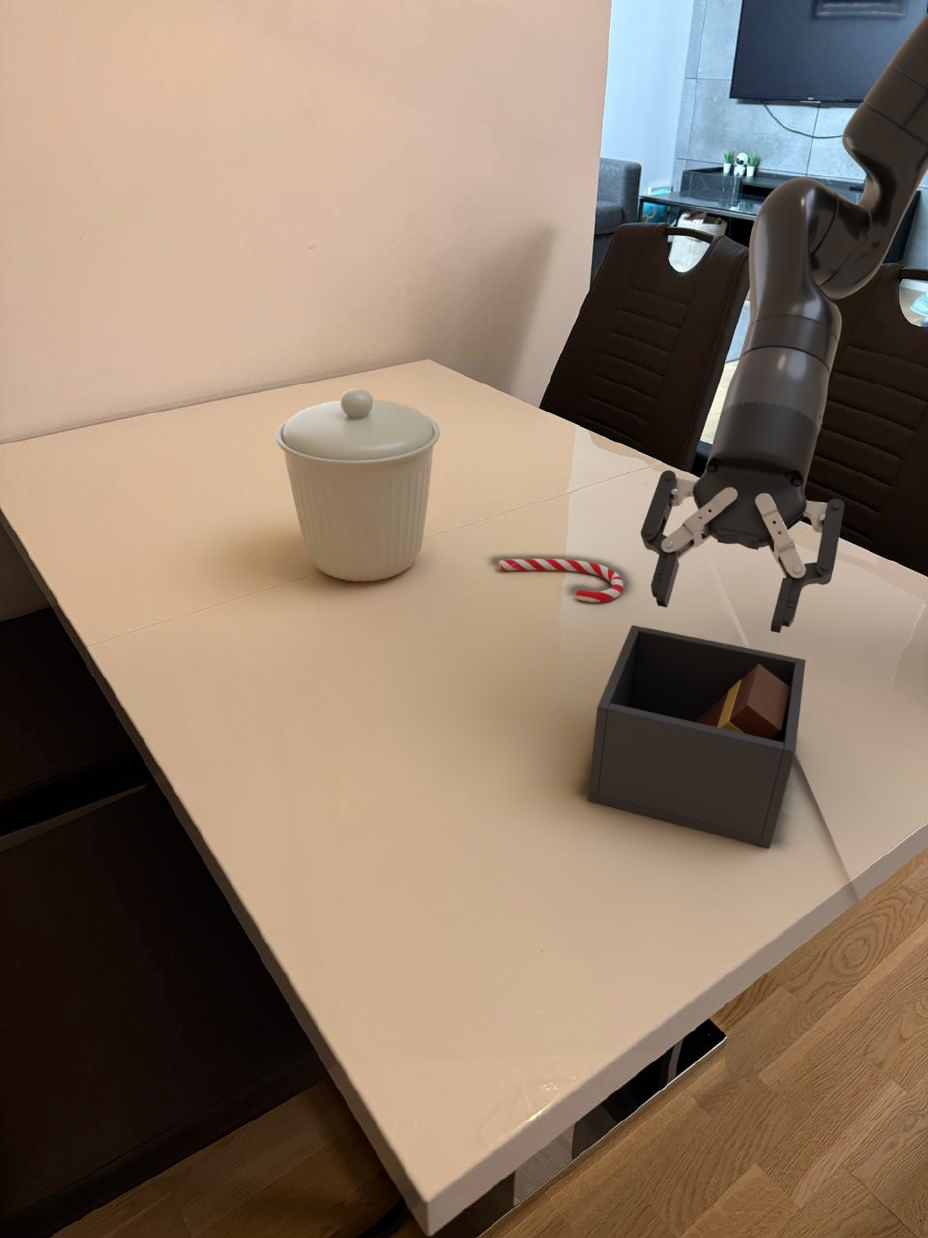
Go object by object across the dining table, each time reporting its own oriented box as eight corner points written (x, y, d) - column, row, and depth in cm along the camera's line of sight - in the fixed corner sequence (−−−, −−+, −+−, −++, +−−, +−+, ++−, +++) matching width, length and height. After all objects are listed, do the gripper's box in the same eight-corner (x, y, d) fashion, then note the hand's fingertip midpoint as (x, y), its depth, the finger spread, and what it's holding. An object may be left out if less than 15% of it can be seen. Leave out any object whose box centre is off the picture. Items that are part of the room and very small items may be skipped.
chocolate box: (717, 751, 80) (791, 687, 74) (703, 795, 75) (781, 731, 69) (686, 728, 80) (758, 662, 74) (671, 770, 75) (746, 704, 69)
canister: (442, 598, 103) (442, 417, 92) (280, 601, 102) (260, 418, 91) (437, 526, 118) (437, 364, 107) (296, 528, 117) (281, 365, 106)
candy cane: (505, 547, 111) (629, 566, 107) (504, 556, 111) (628, 575, 108) (487, 577, 104) (618, 598, 101) (487, 587, 105) (617, 608, 101)
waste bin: (782, 750, 81) (805, 659, 76) (769, 848, 71) (795, 751, 66) (620, 713, 85) (631, 624, 80) (586, 800, 75) (597, 706, 70)
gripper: (675, 386, 71) (618, 582, 68) (871, 412, 66) (819, 625, 63) (682, 430, 78) (631, 609, 75) (861, 457, 72) (813, 650, 70)
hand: (717, 616), depth 69 cm, fingers open, 8 cm apart
